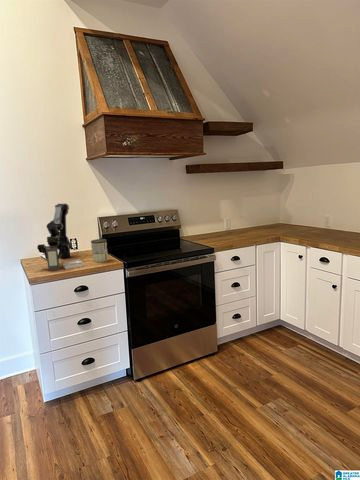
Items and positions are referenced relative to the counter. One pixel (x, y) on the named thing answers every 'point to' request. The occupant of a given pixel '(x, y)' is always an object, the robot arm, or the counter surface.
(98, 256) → the coffee can
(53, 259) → the photo frame
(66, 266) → the picture stand
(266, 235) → the counter surface
